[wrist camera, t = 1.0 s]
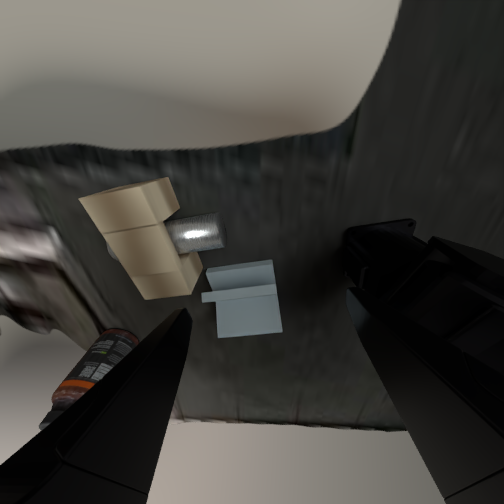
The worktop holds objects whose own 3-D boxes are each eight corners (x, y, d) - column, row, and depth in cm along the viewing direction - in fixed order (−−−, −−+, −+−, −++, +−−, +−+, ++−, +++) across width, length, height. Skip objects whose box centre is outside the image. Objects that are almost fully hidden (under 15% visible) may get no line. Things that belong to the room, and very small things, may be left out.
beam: (168, 176, 17) (139, 186, 13) (203, 267, 22) (190, 294, 18) (120, 186, 17) (78, 198, 13) (165, 272, 23) (145, 299, 18)
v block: (272, 259, 21) (275, 283, 17) (279, 311, 26) (283, 339, 22) (207, 268, 22) (197, 292, 18) (225, 317, 26) (220, 344, 23)
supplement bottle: (118, 350, 32) (56, 441, 22) (95, 329, 29) (12, 423, 19) (147, 346, 31) (97, 438, 21) (127, 324, 28) (57, 419, 18)
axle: (219, 206, 18) (213, 223, 15) (228, 234, 20) (224, 254, 17) (120, 223, 19) (99, 242, 17) (139, 248, 21) (123, 269, 19)
